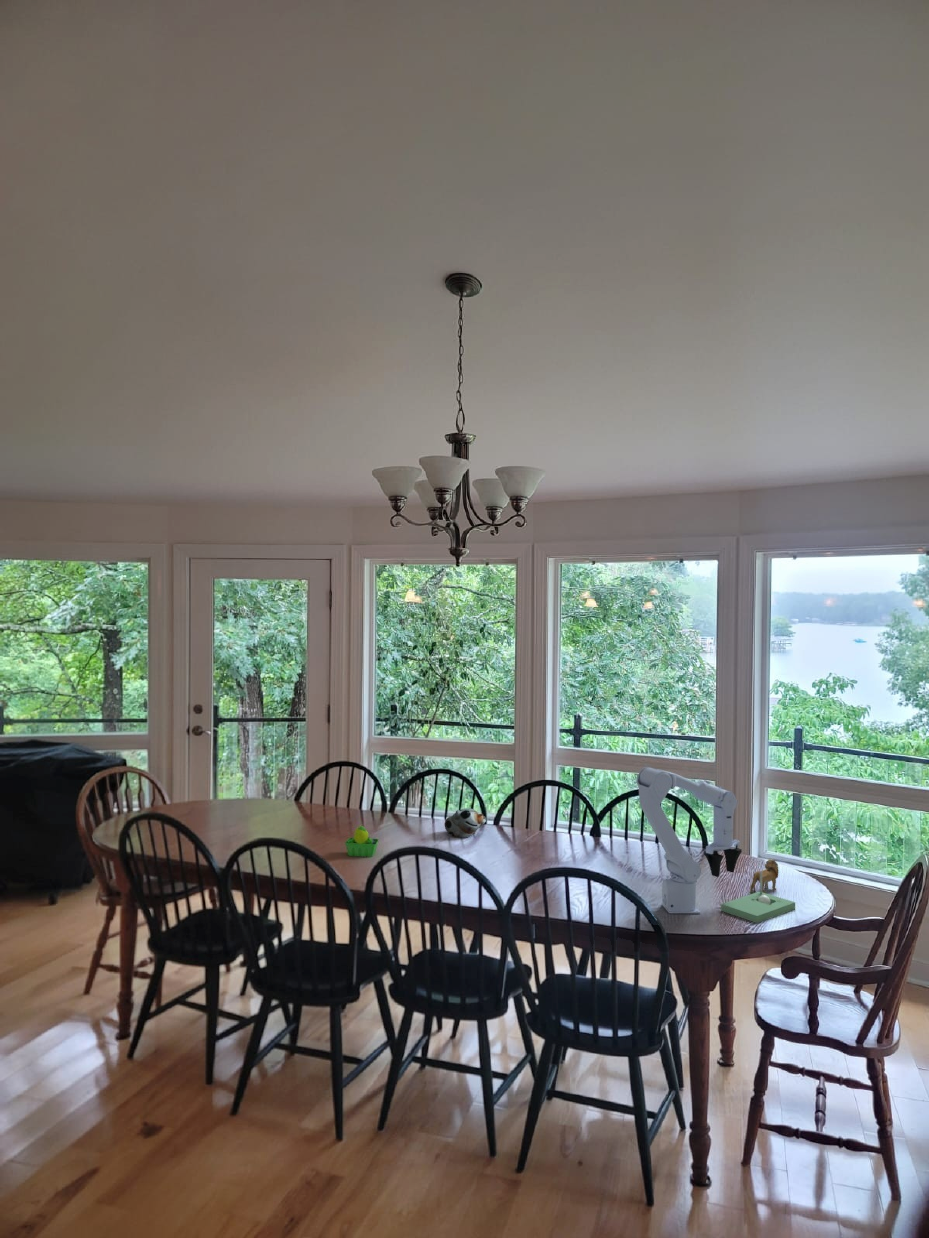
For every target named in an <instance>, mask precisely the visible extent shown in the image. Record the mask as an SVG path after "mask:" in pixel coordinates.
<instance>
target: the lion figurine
mask: <svg viewBox="0 0 929 1238" xmlns="http://www.w3.org/2000/svg"><path fill="white" fill-rule="evenodd" d="M764 868H765V869H764V870H766V869H767V876H765V877H762V892H763V893H767V891H766V890H764V889H769V883H770V882H772V886H771V889H772V891H777V888H776V884H777V879H778V878H779V864H778V863H777V861H776V860H775V859H774V858H773V859H772V858H770V859H768V860H767V861H766V862H765V863H764ZM760 871H761V870H757V871H755V872H754V873H753V877H752V881H751V885H750V889H749V893H750V894H753V893H756V884H757V883H758V882H759V884H760ZM764 887H765V888H764ZM767 894H768V893H767Z"/></svg>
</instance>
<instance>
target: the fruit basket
mask: <svg viewBox="0 0 929 1238" xmlns="http://www.w3.org/2000/svg"><path fill="white" fill-rule="evenodd" d="M344 843H345V846H346V847H345V848H346V851H347V856H348V857H363V856H364V857H365V858H366V856H367V857H368V858H373V856H374V855H375V854H374V853H376V851H377V848H378V843H379V838H371V837H369V832H368V831H367V829H366V828H365V827H364V826H363V825H359V826H358V827H356V829H355V831H354V834H353V837H349V838H348V839H346V841H344Z"/></svg>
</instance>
